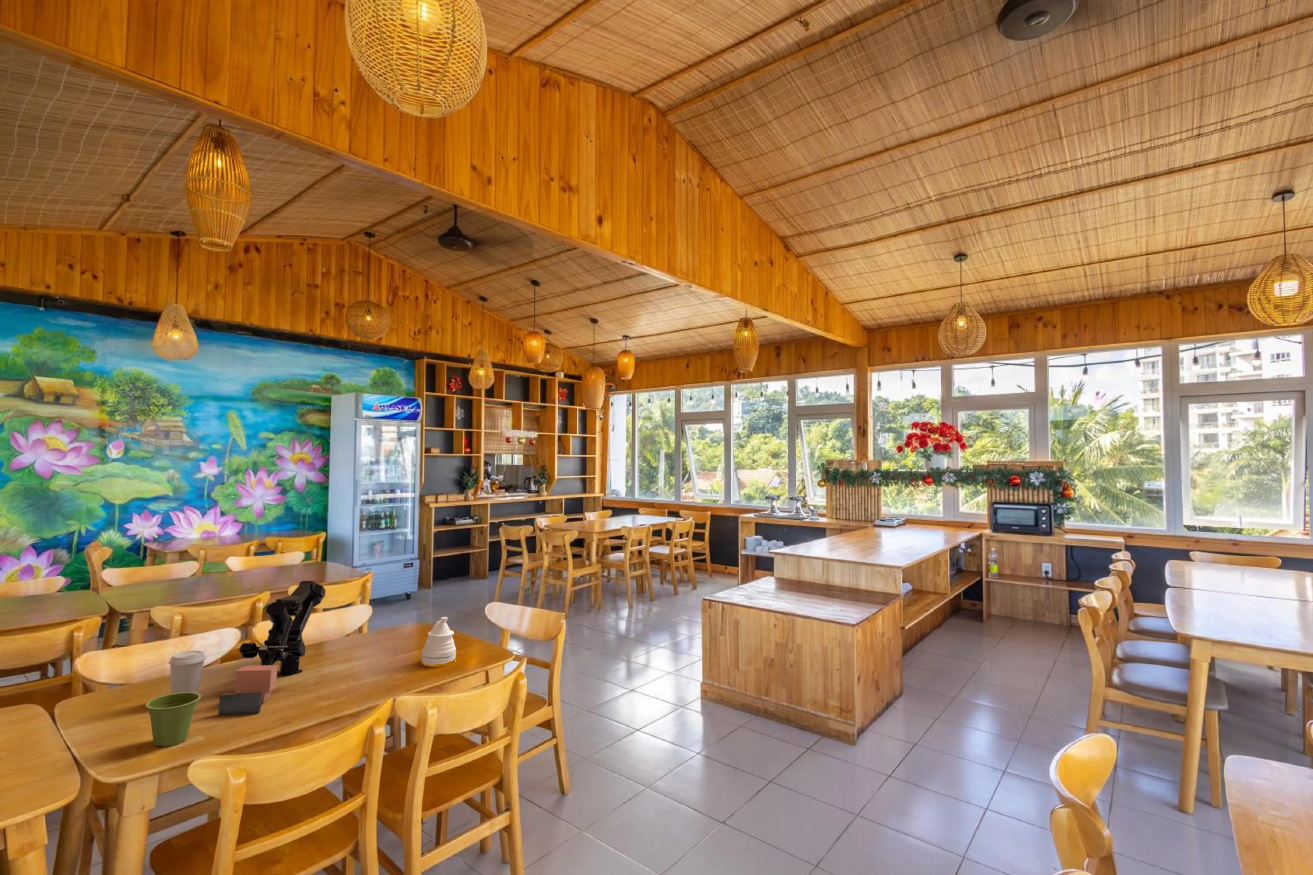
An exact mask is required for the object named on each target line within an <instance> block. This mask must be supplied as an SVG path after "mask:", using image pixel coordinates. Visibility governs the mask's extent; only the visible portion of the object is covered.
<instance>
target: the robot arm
mask: <svg viewBox="0 0 1313 875" xmlns="http://www.w3.org/2000/svg"><path fill="white" fill-rule="evenodd" d="M326 592H327V591H326V589H325V587H324V586H323V585H322V584H318V583H317V582H316V581H314V580H302V581H300V582H299V584H298V586H296V588H295V589H294V591H293V592H292V593H290V595H289V596H285V597H282V598H277V599H276V600H275V601H273V602H271V603H270V604H269V605H267V606H266V610H265V611H266V613H267V616H268V618H269V621H270V623H272V625H271V628H270V629H268V631H267V633H268V635H267V638H266V639H265V640H264V642H263V644H264V645H259V646H257V644H256V642H243V643H242V644H241V645H240V647H239V648H238V651H239V653H240V654H241V656H242V658H244V659H254V658H256V657H259V659H260V660H261V661H260V662H261V666H264V665H275V663H277V662H279V663H280V664H279V667H280V668H279V670H277V675H281V676H284V677H287V676H290V675H294V674H299V673H301V672H303V669H300V658H302V657H303V656H305V655H306V645H305V642H304V639H303V632H304V630H305V628H306V625H307V623H308V620H309V619H310V617H311V614H312V612H313V610H314V608H315V607H317V606H318V605H319V604H321V602H322V601H323V598H325V597H326ZM293 616H294V618H292V617H293Z"/></svg>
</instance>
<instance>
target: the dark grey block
mask: <svg viewBox="0 0 1313 875" xmlns="http://www.w3.org/2000/svg"><path fill="white" fill-rule="evenodd" d="M261 699H262V692H252V693H235V692H228V693H225V692H224V693H221V694H220V695H219V701H218V712H217V715H218V716H235V715H236V716H237V715H240V716H241V715H242V716H243V715H259V714H260V713H261V710H262V703H261Z"/></svg>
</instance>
